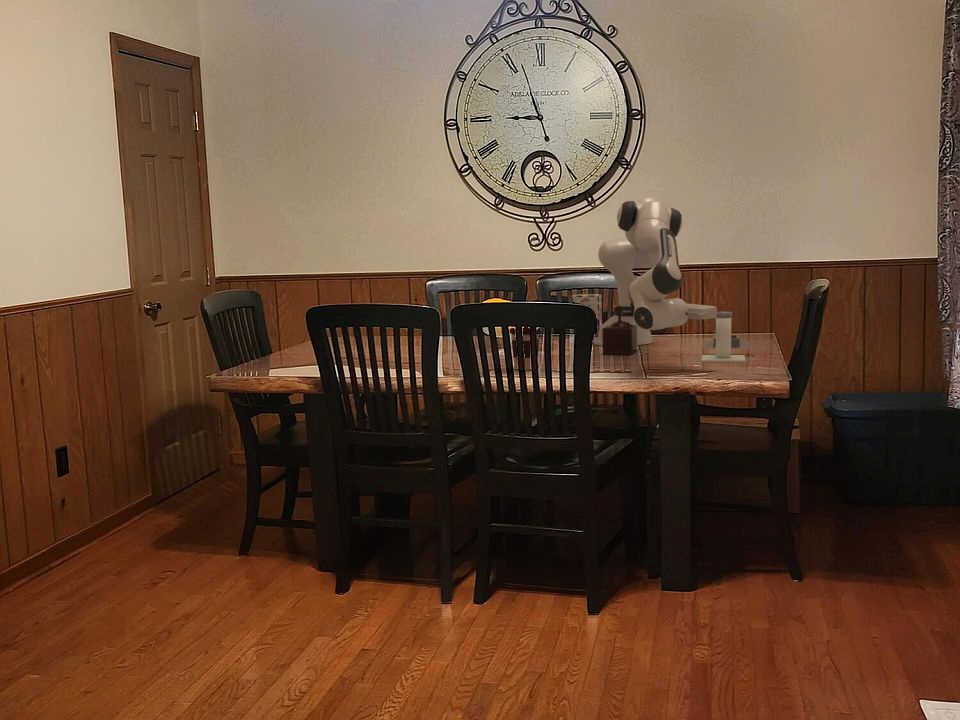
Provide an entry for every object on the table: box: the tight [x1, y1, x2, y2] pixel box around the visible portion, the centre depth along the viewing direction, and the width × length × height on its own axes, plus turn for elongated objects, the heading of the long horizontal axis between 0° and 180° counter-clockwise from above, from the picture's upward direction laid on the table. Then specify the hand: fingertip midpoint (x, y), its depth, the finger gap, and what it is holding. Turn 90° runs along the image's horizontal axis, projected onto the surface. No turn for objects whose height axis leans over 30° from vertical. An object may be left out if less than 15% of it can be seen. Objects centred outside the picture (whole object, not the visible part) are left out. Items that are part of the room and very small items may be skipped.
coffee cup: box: [509, 327, 541, 371], centre depth 342 cm, size 10×10×15 cm
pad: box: [701, 353, 746, 363], centre depth 351 cm, size 14×14×1 cm
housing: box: [702, 334, 751, 350], centre depth 374 cm, size 16×16×4 cm
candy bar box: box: [571, 293, 603, 337], centre depth 417 cm, size 11×5×16 cm, turn 71°
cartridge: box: [715, 311, 733, 358], centre depth 350 cm, size 5×5×15 cm
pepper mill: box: [602, 303, 638, 356], centre depth 372 cm, size 16×11×18 cm
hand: (701, 307), depth 341 cm, fingers open, 8 cm apart
